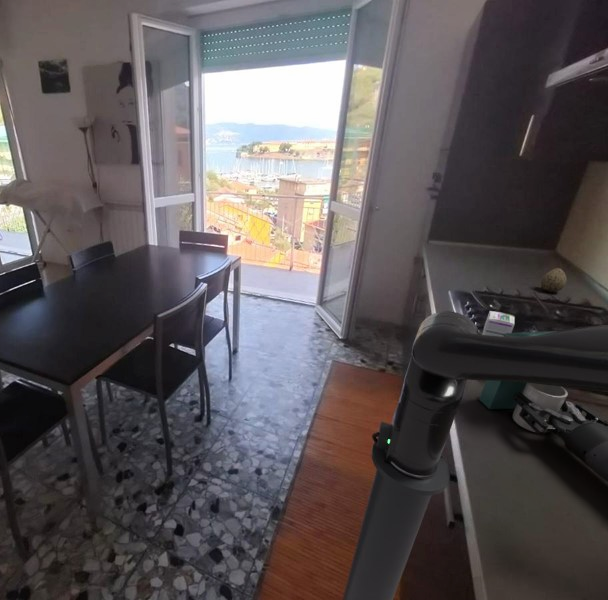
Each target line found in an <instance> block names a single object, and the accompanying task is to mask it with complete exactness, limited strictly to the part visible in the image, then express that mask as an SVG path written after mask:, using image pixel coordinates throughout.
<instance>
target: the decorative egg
mask: <svg viewBox="0 0 608 600" xmlns="http://www.w3.org/2000/svg"><path fill="white" fill-rule="evenodd" d="M566 285H567V275H566V273H565V271H564V270H563V269H562V268H560V267H556V268H553V269H551V270H550V271H547V272H546V273H545V274H544V275H543V276H542V278H541V280H540V287H541V289H543V290H544V291H545V292H547V293H557V292H559V291H561V290H562V289H564V287H566Z"/></svg>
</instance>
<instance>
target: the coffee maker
mask: <svg viewBox="0 0 608 600" xmlns="http://www.w3.org/2000/svg"><path fill="white" fill-rule="evenodd" d="M558 331H559V330H558ZM558 331H557V330H556V331H553V330H552V331H529V332H528V331H526V332H524V331H523V332H512V333H505V334H504V337H528V336H536V335H542V334H548V333H553V332H558ZM526 384H527V383H525V382H513V381H489V380H485V383H484V385H483V389H482V391H481V393H480V396H479V398H478V400H479V401H480V402H481V403H482V404H483V405H484V406H485V407H486V408H488V410H507V409H515V408H516V406H517V403H516V402H515V401H514V400H513V397H514V395H515V393H516V392H520V393H523V391H524V389H525V386H526Z"/></svg>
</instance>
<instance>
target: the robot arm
mask: <svg viewBox="0 0 608 600" xmlns="http://www.w3.org/2000/svg"><path fill="white" fill-rule="evenodd" d="M552 332H553V331H552ZM486 380H489V381H513V382H525V383H534V384H543V385H552V386H561V387H563V388H573V389H582V390H591V391H597V392H606V393H608V325H607V324H603V325H602V324H601V325H588V326H579V327H575V328H568V329H563V330H558V332H553V333H548V334H542V335H536V336H528V337H502V336H489V335H482V334H480V331H479V328H478V327H477V325H476V324H475V323H474V321H473V320H471V319H470V317H467V316H466V315H464V314H462V313H459V312H456V311H451V310H450V311H449V310H448V311H447V310H444V311H438V312H435V313H432V314H430V315H429V316H427V317H426V318H425V319H423V321H422V322H421V323H420V324H419V327H418V330H417V332H416V334H415V338H414V341H413V344H412V348H411V356H410V360H409V363H408V366H407V369H406V373H405V376H404V380H403V384H402V387H401V390H400V394H399V399H398V402H397V406H396V409H394V412H393V415H392V420H391V423H387V422H384V421H380V424H379V428H378V431H377V432H374V433H372V434H371V439H372V440H373V443H374V442H375V443H376V444H377V447H379V448H382V449H385V460H384V462H385V463H387V464H390V465H391V466H392V467H393V468H394V469H395V470H397V471H398V472H399V473H401V474H403V475H405V476H407V477H410V478H413V479H418V480H425V479H429V478H431V477H433V476H434V474H435V473H436V470H437V466H438V462H439V460H440V457H441V456H442V454H443V452H444V448H445V446H446V442H447V440H448V437H449V434H450V432H451V429H452V426H453V424H454V421H455V418H456V415H457V412H458V410H459V407H460V405H461V402H462V399H463V397H464V392H465V388H466V384H467V381H486ZM513 400H514V401H515V402H516V403H517V404H518V405H519V406H520V407H522V409H521V412H520V413H519V416H520V417H521V418H522V419H523V420H524V421H525V422H526V423H527V424H528V425H529V426H530V427H531V428H533V429H534V430H535V431H536V432H535V433H536V434H538V435H539V436H544V435H545V432H546V433H552V434H553V435H556V436H558V437H559V438H561V439H562V441H563V443H564V445H565V448H566V449H567V450H568V451H570V453H572V454H573V455H574V456H575V457H577V458H578V459H579V461H581V462H582V463H583V464H584V465H586V466H587V467H589V468H590V470H592V471H593V473H595V474H596V475H598V476H599V477H600V478H601V479H602V480H604V481H606V482H607V483H608V420H607V419H606V418H604V417H603V416H601V415H600V414H598V413H597V412H595V411H594V410H592V409H591V408H589V407H588V406H586V405H584V404H582V403H579V402H577V403H576V404H574V403H573V402H571V401H566V400H565V401H564V403H563V405H562V406H561V408H560V410H561V411H560V412H555V411H553V410H550V409H548V408H541V407H539V406H537V405H535V404H533V402H532V401H530V400H529V399H528V398H527V397H526V396H524V395H523V394H522V393H520V392H516V393H515V395H514V397H513ZM534 410H537V411H539V412H540V415H538V414H536V413H535V412H534ZM582 412H584V413H585V415H584V414H583V413H582ZM547 414H549V415H550V417H549V419H548V421H546V420H545V417H546V415H547ZM528 415H529V416H528Z"/></svg>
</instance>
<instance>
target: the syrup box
mask: <svg viewBox="0 0 608 600" xmlns="http://www.w3.org/2000/svg"><path fill="white" fill-rule="evenodd" d="M515 318H516V317H515V315H513V314H509V313H506V312H501V311H493V310H489V311H488V314H487V317H486V320H485V323H484V326H483V329H482V331H481V335H489V336H502V337H504V334H505V333H513V330H514V327H515Z"/></svg>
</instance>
